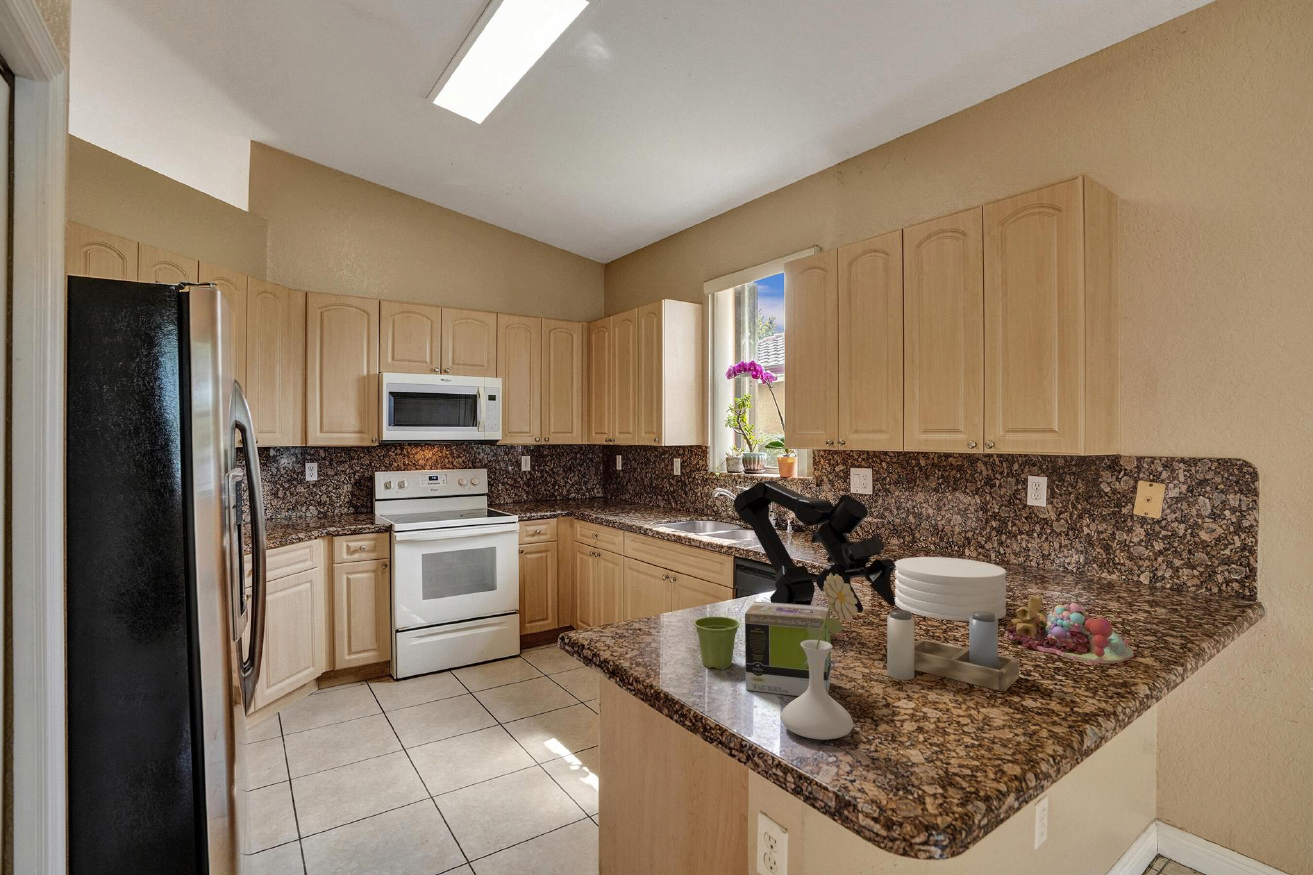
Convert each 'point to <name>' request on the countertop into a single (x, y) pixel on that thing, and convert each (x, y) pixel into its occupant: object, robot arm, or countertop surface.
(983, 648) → the blue shaker
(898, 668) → the cylinder
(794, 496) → the robot arm
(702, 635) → the plant pot
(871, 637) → the countertop surface
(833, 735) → the flower in vase
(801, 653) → the tea box
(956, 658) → the beech slot rack
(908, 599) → the plate stack
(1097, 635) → the multicoloured low bumpy piece
